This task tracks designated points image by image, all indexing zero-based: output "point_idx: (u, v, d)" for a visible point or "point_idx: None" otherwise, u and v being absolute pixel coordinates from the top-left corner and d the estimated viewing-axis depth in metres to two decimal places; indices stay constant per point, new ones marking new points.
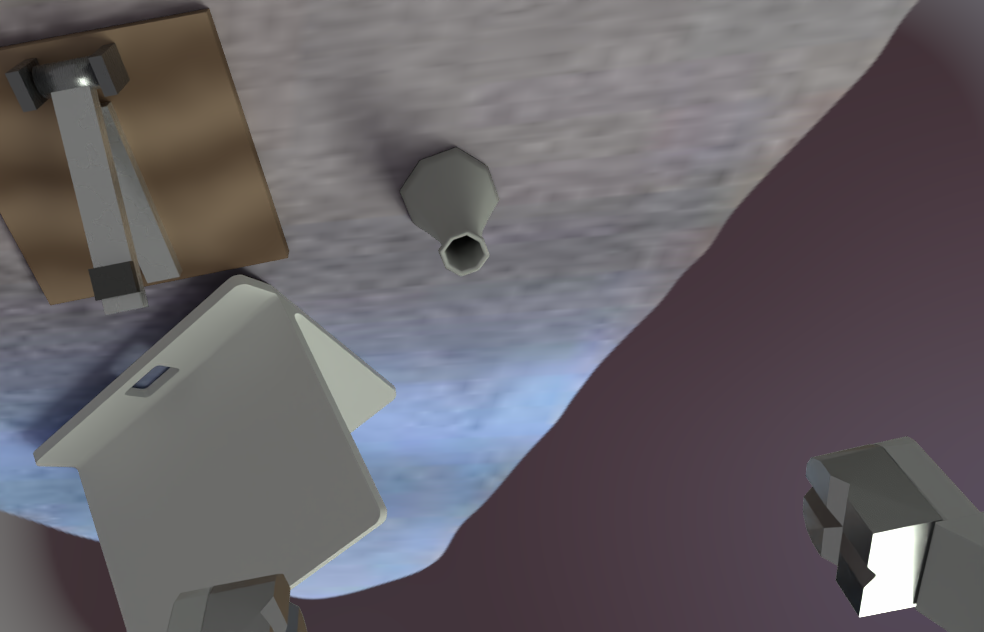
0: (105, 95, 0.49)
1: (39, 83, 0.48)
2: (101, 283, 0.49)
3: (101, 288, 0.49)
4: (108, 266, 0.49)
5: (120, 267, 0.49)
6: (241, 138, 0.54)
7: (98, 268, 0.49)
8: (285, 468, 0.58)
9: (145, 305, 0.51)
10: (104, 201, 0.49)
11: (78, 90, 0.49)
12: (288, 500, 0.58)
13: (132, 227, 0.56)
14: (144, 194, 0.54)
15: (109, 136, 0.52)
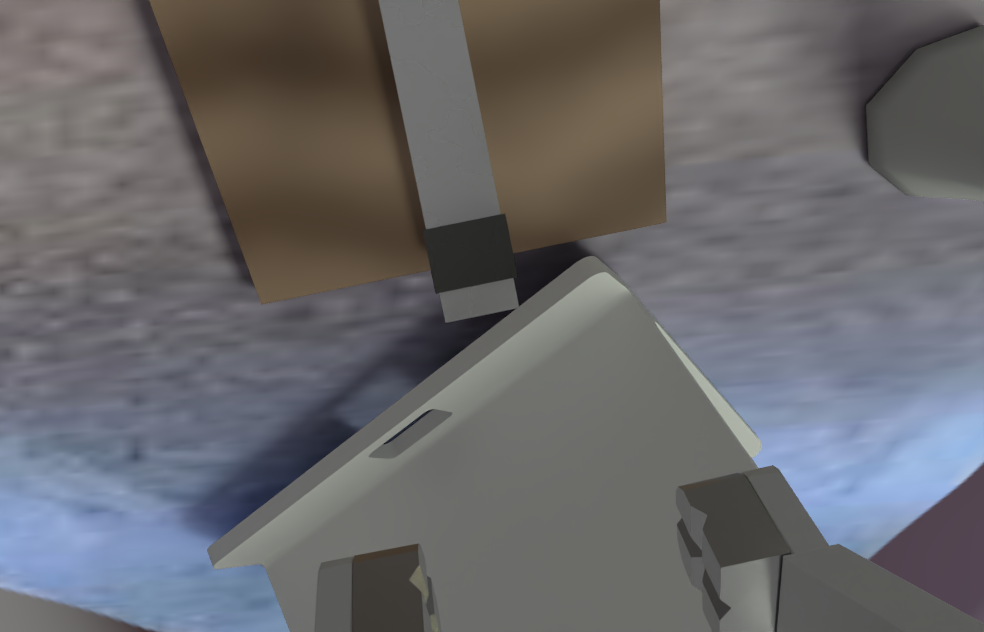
0: None
1: None
2: (448, 258, 0.24)
3: (447, 269, 0.24)
4: (463, 224, 0.24)
5: (487, 226, 0.24)
6: None
7: (443, 228, 0.24)
8: (680, 593, 0.33)
9: None
10: (450, 93, 0.24)
11: None
12: None
13: None
14: None
15: None
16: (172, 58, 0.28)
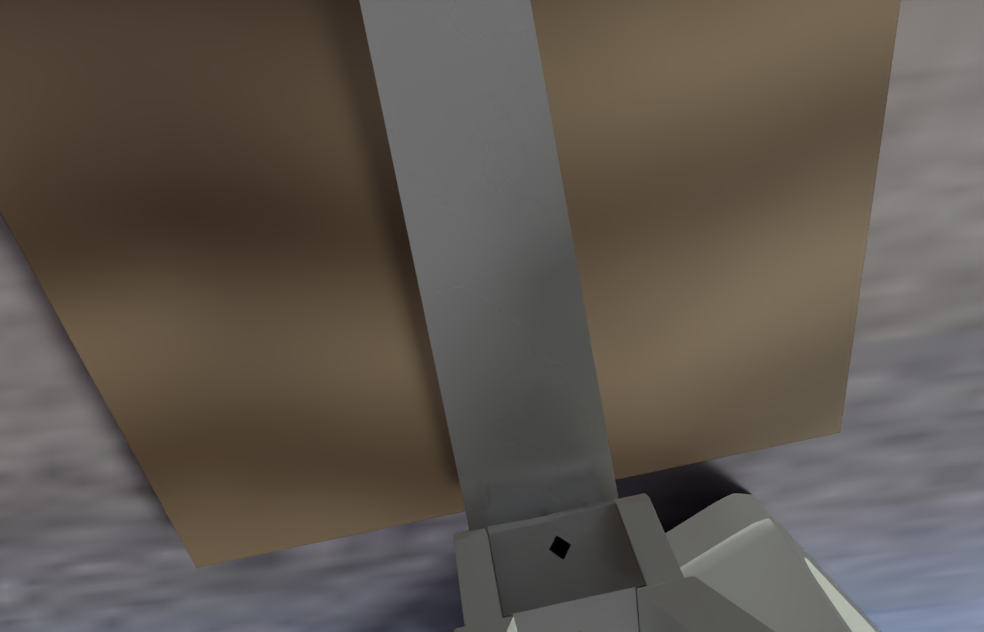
0: None
1: None
2: None
3: None
4: None
5: None
6: (866, 98, 0.16)
7: None
8: None
9: None
10: (539, 350, 0.12)
11: None
12: None
13: None
14: None
15: None
16: (8, 219, 0.15)
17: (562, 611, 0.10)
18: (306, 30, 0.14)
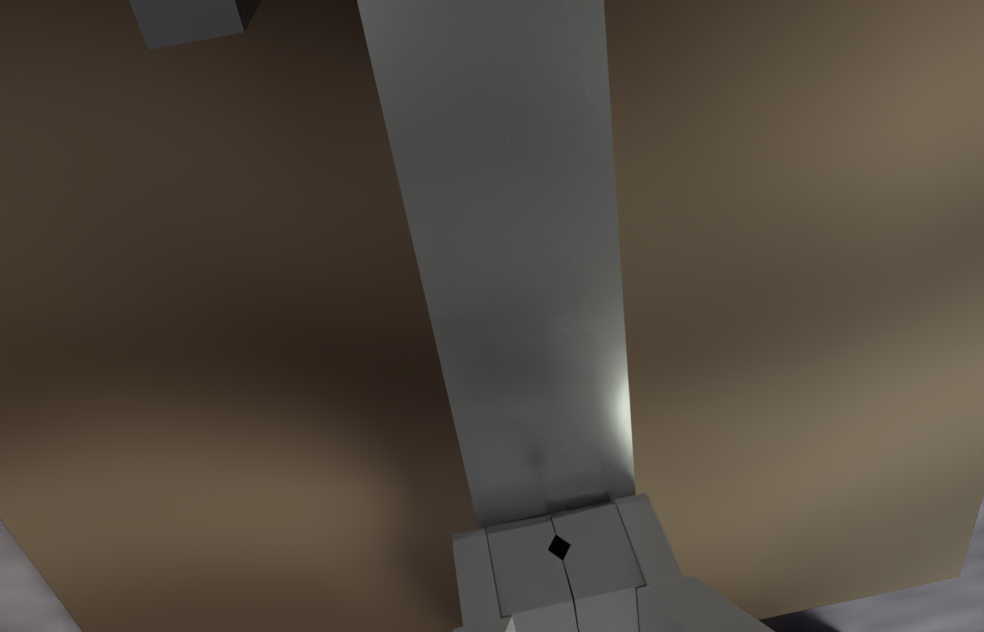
0: None
1: None
2: None
3: None
4: None
5: None
6: None
7: None
8: None
9: None
10: (579, 465, 0.11)
11: None
12: None
13: None
14: None
15: None
16: None
17: (561, 611, 0.10)
18: (298, 120, 0.10)
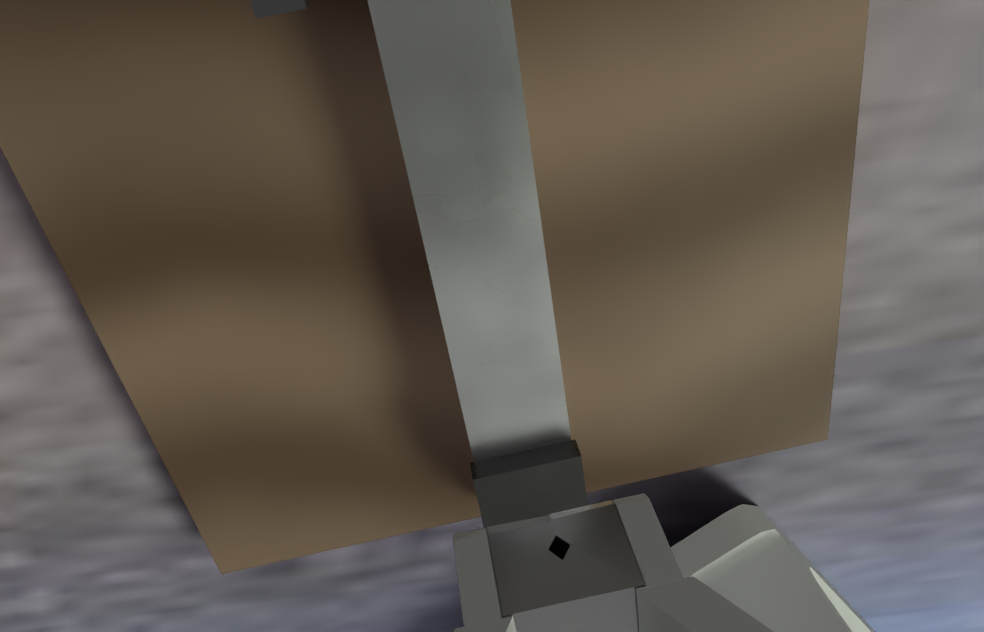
0: None
1: None
2: (504, 505, 0.19)
3: (502, 514, 0.19)
4: (526, 470, 0.18)
5: (556, 470, 0.19)
6: (837, 127, 0.18)
7: (499, 475, 0.18)
8: None
9: None
10: (515, 308, 0.17)
11: None
12: None
13: None
14: None
15: None
16: (56, 249, 0.17)
17: (562, 611, 0.10)
18: (327, 76, 0.16)
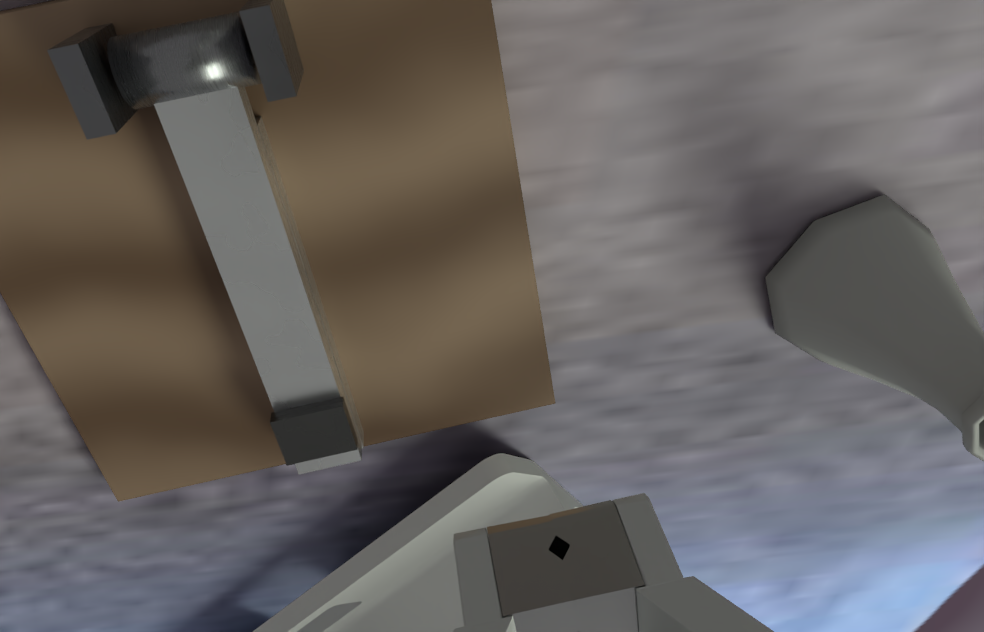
0: (269, 98, 0.22)
1: (130, 91, 0.22)
2: (295, 441, 0.28)
3: (295, 448, 0.28)
4: (306, 416, 0.27)
5: (327, 416, 0.28)
6: (507, 186, 0.27)
7: (288, 419, 0.27)
8: None
9: (361, 449, 0.30)
10: (285, 306, 0.26)
11: (215, 98, 0.22)
12: None
13: None
14: None
15: None
16: None
17: (561, 611, 0.10)
18: (157, 161, 0.25)
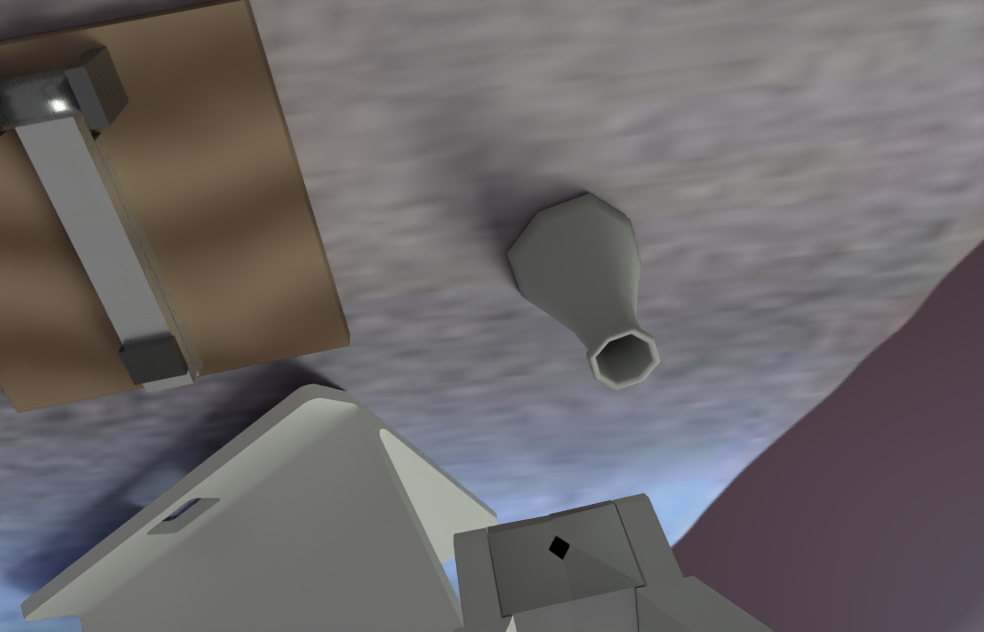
0: (91, 127, 0.32)
1: None
2: (138, 367, 0.39)
3: (139, 372, 0.39)
4: (144, 348, 0.38)
5: (160, 349, 0.38)
6: (290, 185, 0.37)
7: (131, 351, 0.38)
8: None
9: (194, 376, 0.41)
10: (123, 269, 0.36)
11: (57, 124, 0.33)
12: None
13: None
14: (150, 265, 0.38)
15: None
16: None
17: (562, 611, 0.10)
18: (28, 163, 0.35)
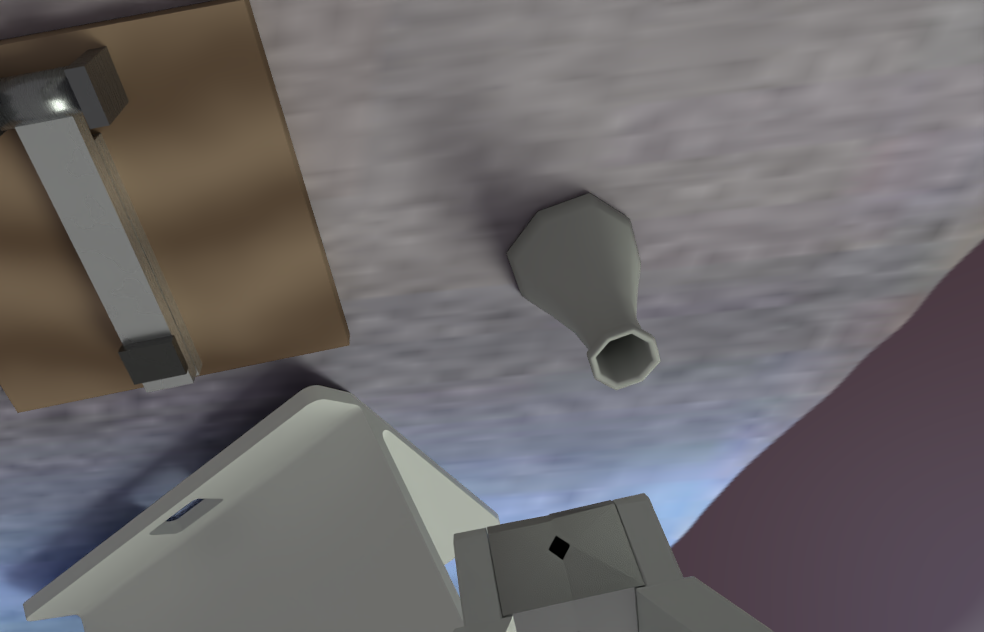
0: (91, 126, 0.32)
1: None
2: (138, 366, 0.39)
3: (139, 371, 0.39)
4: (144, 348, 0.38)
5: (160, 349, 0.38)
6: (290, 184, 0.37)
7: (131, 350, 0.38)
8: None
9: (194, 375, 0.41)
10: (123, 268, 0.36)
11: (57, 124, 0.33)
12: None
13: None
14: (150, 265, 0.38)
15: None
16: None
17: (562, 611, 0.10)
18: (27, 163, 0.35)
